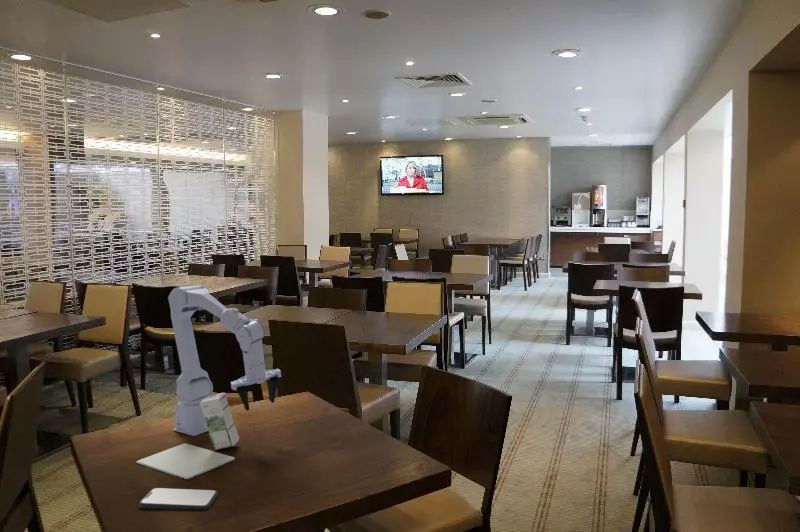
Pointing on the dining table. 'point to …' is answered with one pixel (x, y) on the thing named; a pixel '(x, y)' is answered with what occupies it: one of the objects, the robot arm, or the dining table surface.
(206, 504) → the phone case
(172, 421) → the dining table surface
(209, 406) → the syrup box
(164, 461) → the mat
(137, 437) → the dining table surface
